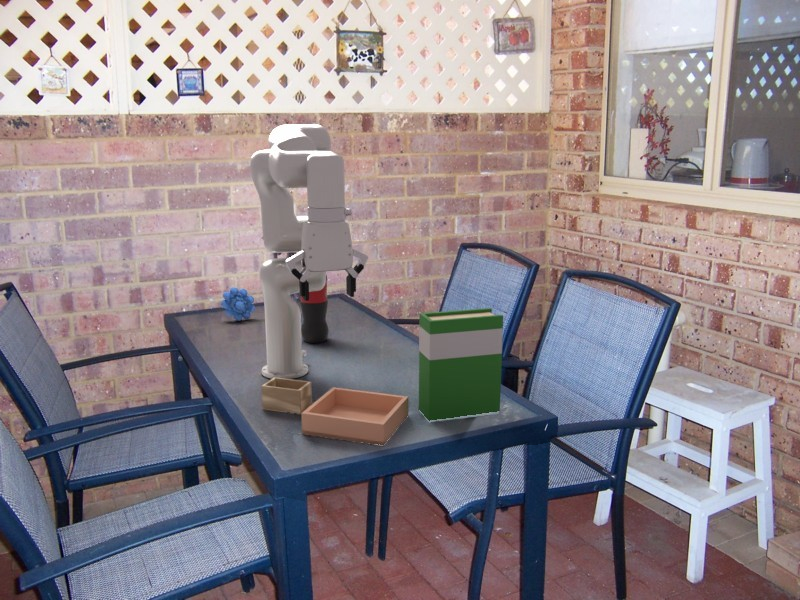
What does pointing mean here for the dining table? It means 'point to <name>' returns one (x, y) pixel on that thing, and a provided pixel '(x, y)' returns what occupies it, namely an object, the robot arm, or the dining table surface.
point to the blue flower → (238, 304)
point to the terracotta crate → (355, 415)
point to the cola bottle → (315, 316)
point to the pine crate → (286, 395)
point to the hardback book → (459, 363)
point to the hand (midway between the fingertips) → (328, 297)
